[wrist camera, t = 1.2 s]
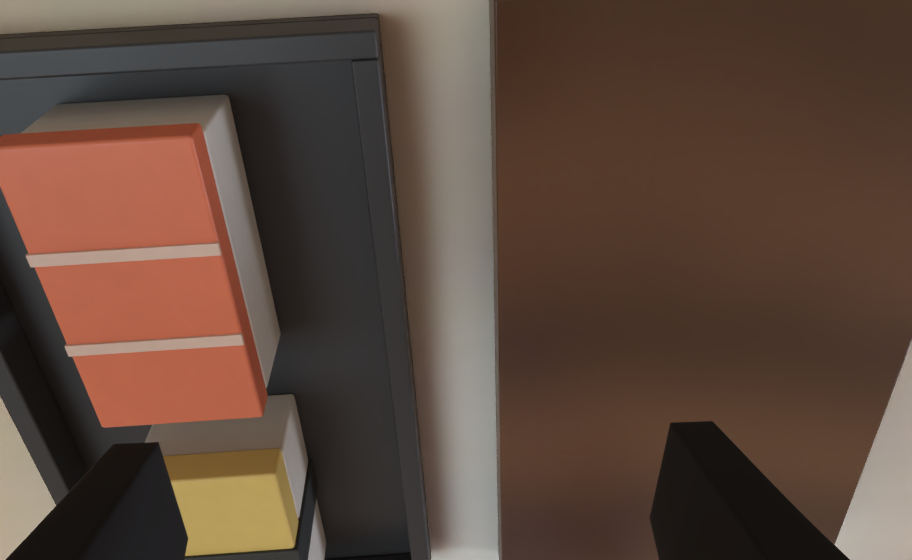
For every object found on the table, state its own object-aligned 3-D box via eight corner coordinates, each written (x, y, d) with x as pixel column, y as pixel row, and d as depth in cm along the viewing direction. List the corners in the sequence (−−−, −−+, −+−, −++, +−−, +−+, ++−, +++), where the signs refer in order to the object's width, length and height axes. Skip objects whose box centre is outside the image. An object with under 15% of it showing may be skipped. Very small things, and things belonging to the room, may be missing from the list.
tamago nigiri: (330, 545, 26) (320, 640, 23) (211, 554, 25) (185, 650, 22) (296, 387, 22) (278, 477, 19) (155, 397, 21) (115, 488, 18)
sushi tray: (430, 551, 27) (431, 591, 25) (126, 574, 26) (111, 614, 25) (378, 12, 16) (376, 30, 15) (-125, 40, 16) (-173, 61, 15)
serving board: (814, 530, 27) (830, 558, 26) (498, 553, 27) (501, 582, 26) (1014, -42, 16) (1054, -34, 15) (488, -13, 16) (494, -2, 15)
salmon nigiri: (282, 340, 21) (263, 420, 18) (142, 349, 20) (100, 431, 18) (227, 84, 17) (190, 137, 14) (51, 94, 16) (-20, 150, 14)
